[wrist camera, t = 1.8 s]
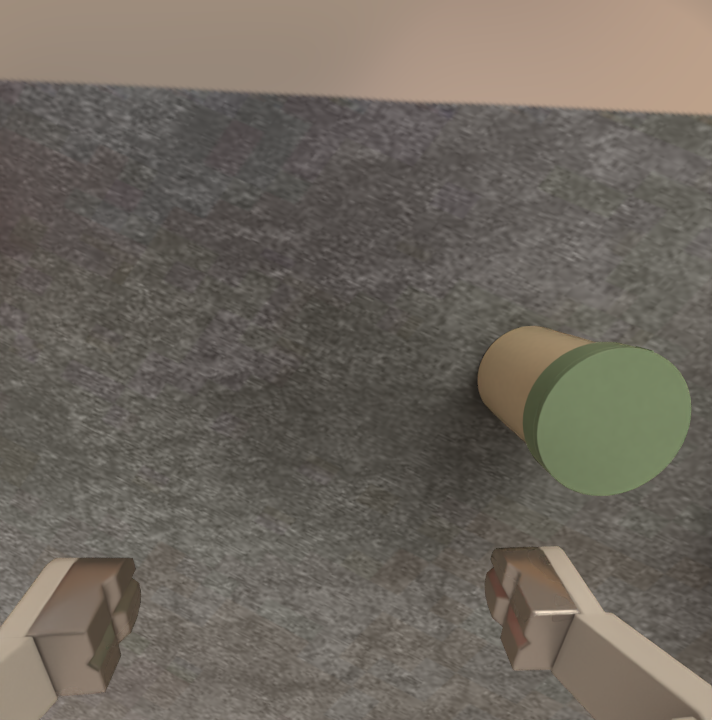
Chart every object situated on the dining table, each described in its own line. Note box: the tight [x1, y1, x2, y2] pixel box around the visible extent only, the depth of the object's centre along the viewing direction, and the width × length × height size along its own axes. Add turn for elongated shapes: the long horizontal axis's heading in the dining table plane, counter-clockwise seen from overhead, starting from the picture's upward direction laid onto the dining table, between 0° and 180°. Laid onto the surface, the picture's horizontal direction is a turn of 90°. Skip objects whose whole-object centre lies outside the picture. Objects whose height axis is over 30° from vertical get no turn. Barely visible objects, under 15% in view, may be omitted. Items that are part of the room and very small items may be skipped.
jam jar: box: [478, 326, 596, 443], centre depth 21 cm, size 6×6×8 cm
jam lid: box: [523, 342, 691, 496], centre depth 18 cm, size 7×7×1 cm
